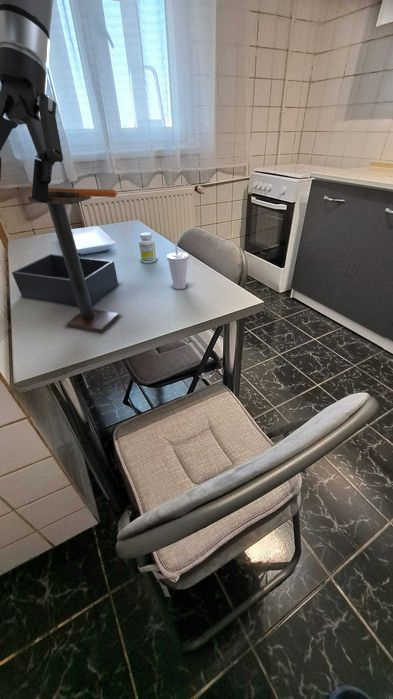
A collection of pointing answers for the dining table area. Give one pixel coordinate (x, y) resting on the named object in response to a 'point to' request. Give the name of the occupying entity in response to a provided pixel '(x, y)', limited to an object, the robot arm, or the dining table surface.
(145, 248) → the supplement bottle
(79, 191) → the orange rod
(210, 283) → the dining table surface
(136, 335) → the dining table surface
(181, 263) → the smoothie
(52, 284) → the bin
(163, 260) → the dining table surface
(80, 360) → the dining table surface
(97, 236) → the tray
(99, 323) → the stand
